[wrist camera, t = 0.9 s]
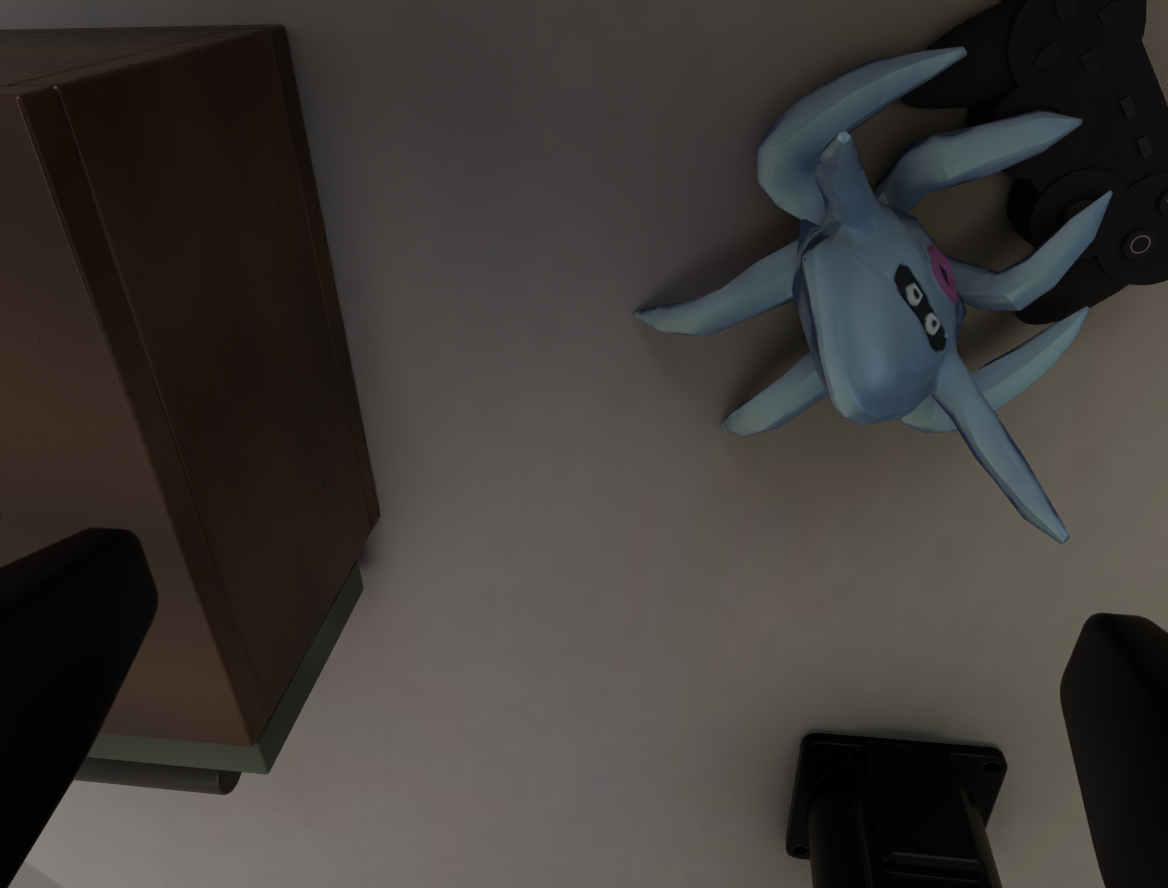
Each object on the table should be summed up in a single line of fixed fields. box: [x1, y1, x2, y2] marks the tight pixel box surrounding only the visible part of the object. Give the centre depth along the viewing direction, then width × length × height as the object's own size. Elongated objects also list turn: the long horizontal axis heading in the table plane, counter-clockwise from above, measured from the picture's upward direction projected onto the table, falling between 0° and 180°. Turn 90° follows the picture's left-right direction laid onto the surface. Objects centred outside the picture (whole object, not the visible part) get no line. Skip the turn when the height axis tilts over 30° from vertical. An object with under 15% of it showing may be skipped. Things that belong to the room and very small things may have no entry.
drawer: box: [74, 560, 364, 795], centre depth 22 cm, size 17×13×7 cm
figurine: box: [633, 0, 1168, 544], centre depth 17 cm, size 10×12×8 cm
